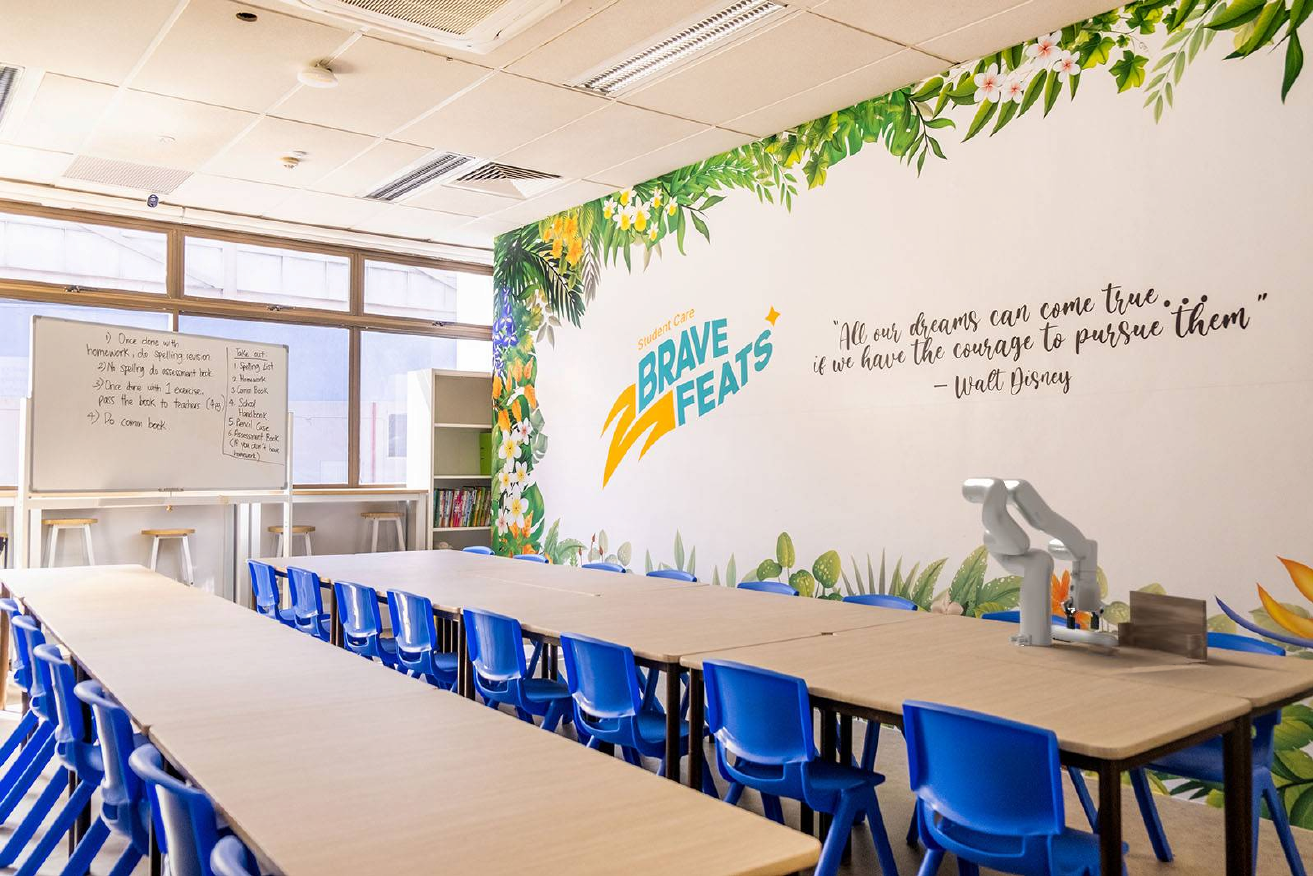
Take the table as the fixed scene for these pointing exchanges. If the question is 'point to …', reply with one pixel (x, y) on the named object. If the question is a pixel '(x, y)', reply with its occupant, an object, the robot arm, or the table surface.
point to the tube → (1083, 636)
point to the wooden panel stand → (1166, 624)
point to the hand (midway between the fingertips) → (1082, 629)
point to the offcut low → (1103, 655)
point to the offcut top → (1103, 650)
